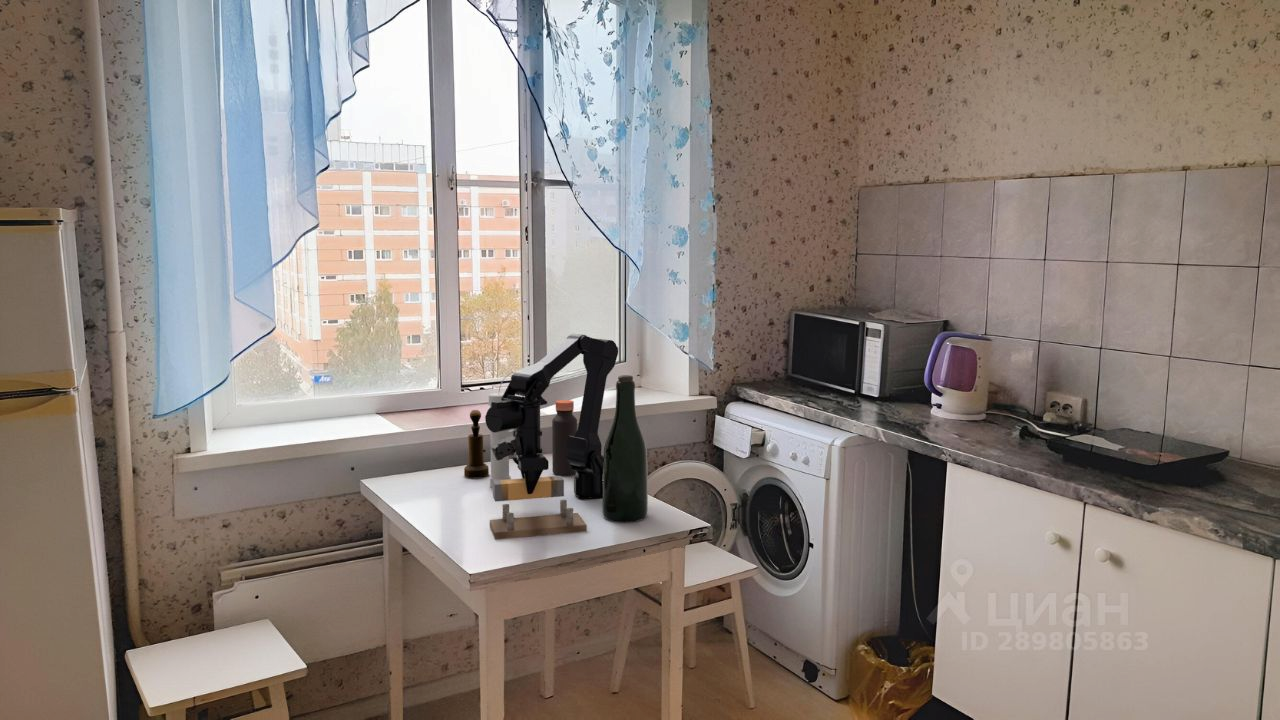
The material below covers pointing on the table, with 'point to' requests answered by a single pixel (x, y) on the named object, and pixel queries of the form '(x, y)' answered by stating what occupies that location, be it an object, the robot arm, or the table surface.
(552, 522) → the rack
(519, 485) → the bar
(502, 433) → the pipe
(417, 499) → the table surface
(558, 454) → the vinegar
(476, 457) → the pepper mill
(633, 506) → the green wine bottle
